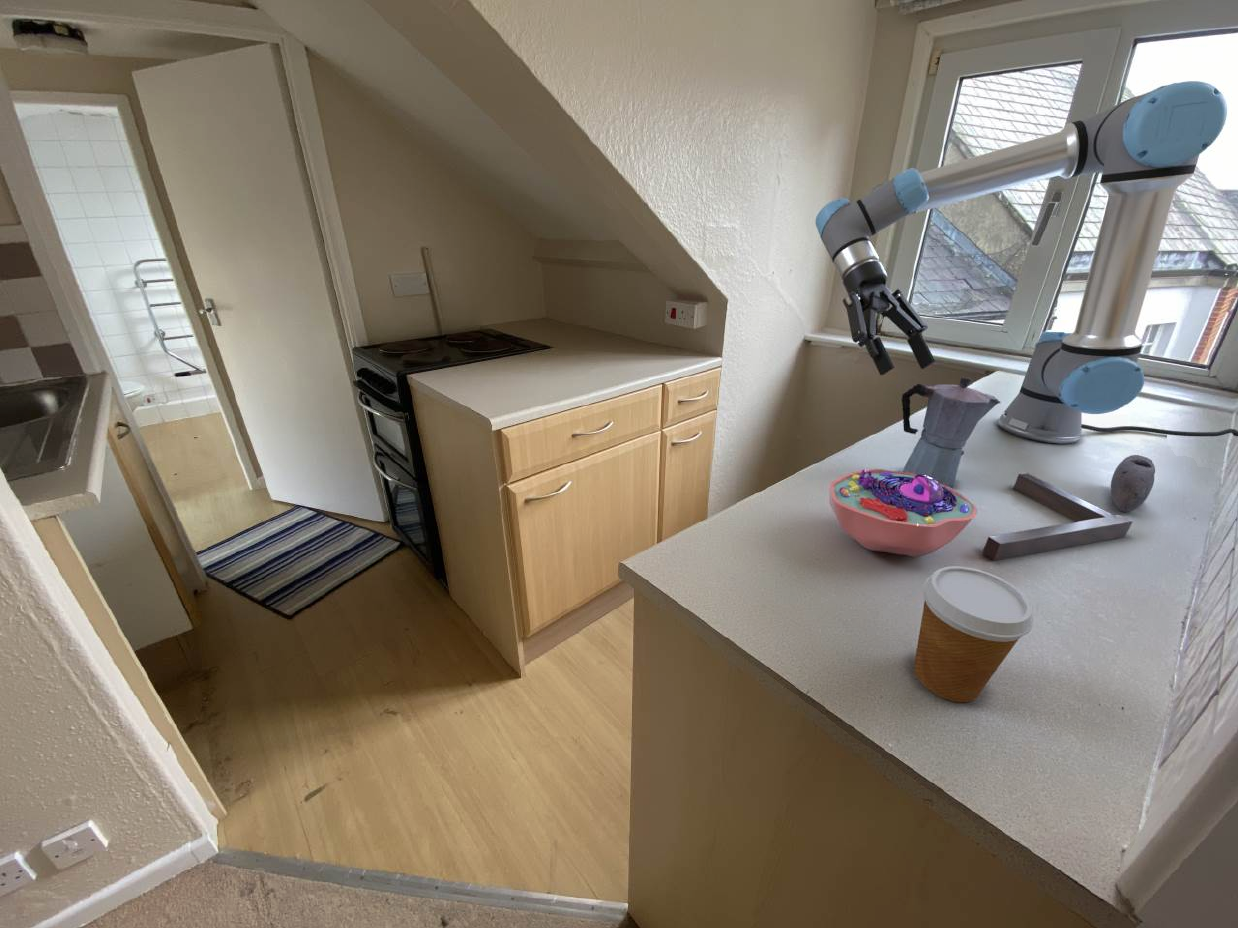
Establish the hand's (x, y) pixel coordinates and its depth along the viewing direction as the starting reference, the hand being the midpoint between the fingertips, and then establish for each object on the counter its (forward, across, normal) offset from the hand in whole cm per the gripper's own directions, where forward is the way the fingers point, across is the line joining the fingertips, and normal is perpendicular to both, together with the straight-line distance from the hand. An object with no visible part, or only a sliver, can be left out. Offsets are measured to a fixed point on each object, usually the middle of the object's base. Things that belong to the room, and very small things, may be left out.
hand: (908, 368), depth 100 cm
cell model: (+29, +24, +2) cm, 38 cm away
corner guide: (+31, 0, +4) cm, 32 cm away
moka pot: (+20, 0, -7) cm, 21 cm away
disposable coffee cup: (+44, +40, +17) cm, 62 cm away
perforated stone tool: (+35, -25, +7) cm, 43 cm away
